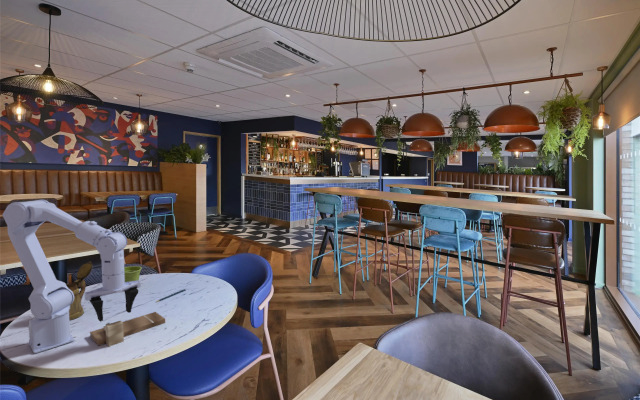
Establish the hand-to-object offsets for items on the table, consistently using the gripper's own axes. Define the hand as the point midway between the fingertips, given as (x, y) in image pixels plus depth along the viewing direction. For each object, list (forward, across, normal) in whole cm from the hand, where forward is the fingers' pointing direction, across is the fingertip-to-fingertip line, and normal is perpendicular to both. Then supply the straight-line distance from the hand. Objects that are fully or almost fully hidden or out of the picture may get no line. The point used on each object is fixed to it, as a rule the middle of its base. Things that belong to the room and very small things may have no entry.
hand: (114, 315), depth 98 cm
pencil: (+9, +28, +23) cm, 37 cm away
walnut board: (+8, +6, +5) cm, 11 cm away
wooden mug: (+9, -3, +32) cm, 34 cm away
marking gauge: (+9, 0, +3) cm, 9 cm away
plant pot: (+9, +21, +45) cm, 50 cm away
